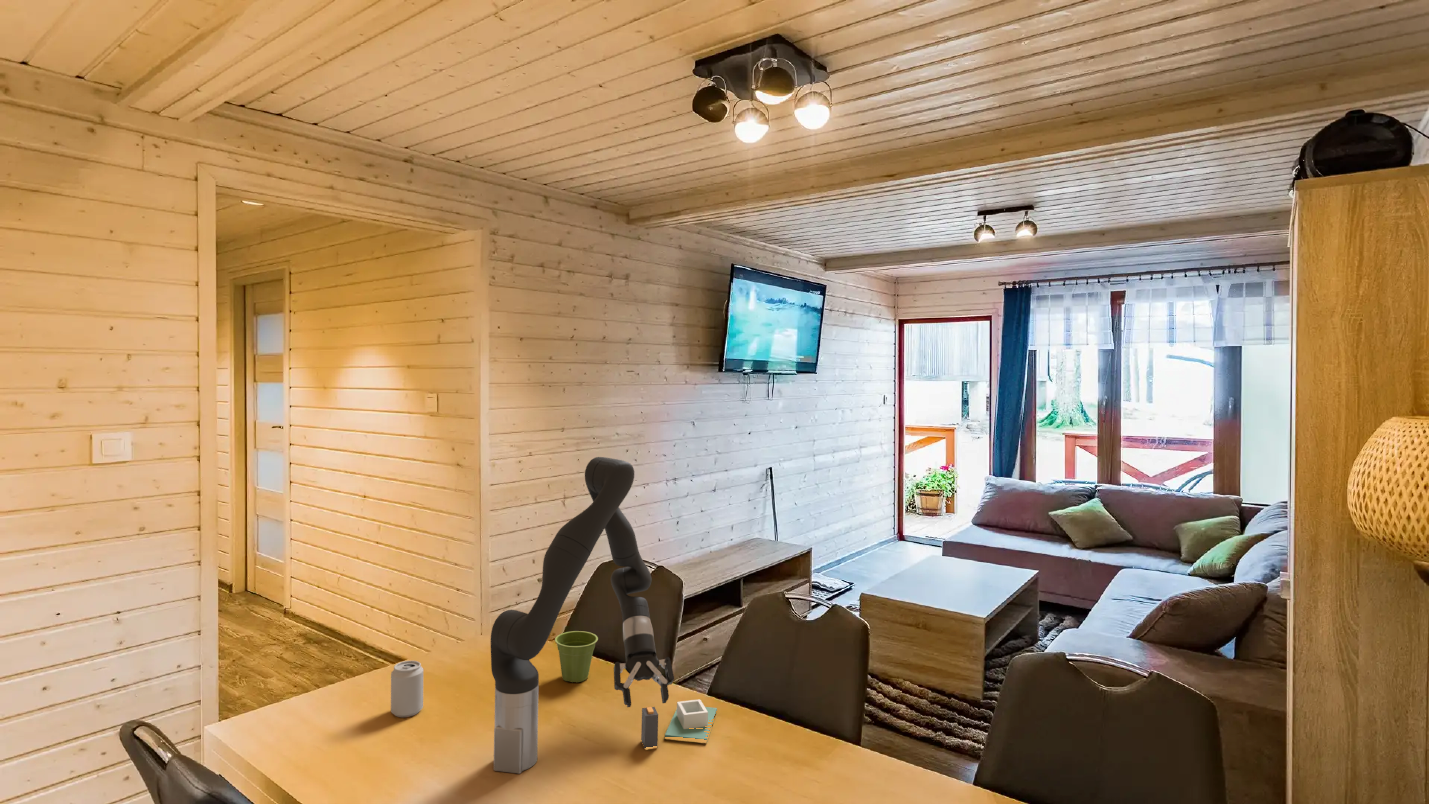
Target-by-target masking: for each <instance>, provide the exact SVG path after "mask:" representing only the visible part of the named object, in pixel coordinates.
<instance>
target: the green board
mask: <svg viewBox="0 0 1429 804" xmlns="http://www.w3.org/2000/svg"><path fill="white" fill-rule="evenodd" d="M705 708H706V710H707V711H708V722H713V720H712V719H714V716H715V714H716V711H717V712H718V708H717V707H710V706H705ZM716 715H717V714H716ZM709 720H710V721H709ZM711 720H712V721H711ZM708 725H712V724H708ZM698 728H703V729H696V728H694V729H683V727H682V725H681V723H680V721H679V719H678V717H677V708H676V709H675V712H674V714H673V715H672V718H671V720H670V723H669V725H668V727H667V728H666V729H667V730H666V731H665V733H664V738H665V737H683V738H695V739H704V740H707V738H705V737H708V735H706V734H709V733H707V732H704V731H710V730H708V729H705V728H711V727H698Z"/></svg>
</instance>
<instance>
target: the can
mask: <svg viewBox="0 0 1429 804" xmlns="http://www.w3.org/2000/svg"><path fill="white" fill-rule="evenodd" d="M423 708H424V668H423V666H422V663H421V662H420V661H417V660H403V661H400V662H398V663H396V664H395V665H394V666H393V670H392V671H391V673H390V712H391V714H392V715H394V716H395V717H398V718H408V717H413V716H415V715H417V714H419V712H421V710H423Z"/></svg>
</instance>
